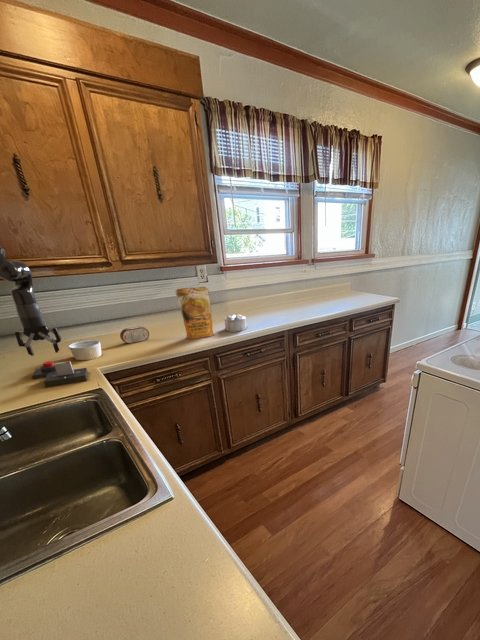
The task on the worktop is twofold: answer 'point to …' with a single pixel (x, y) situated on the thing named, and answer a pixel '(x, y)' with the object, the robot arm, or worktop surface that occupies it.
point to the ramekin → (86, 350)
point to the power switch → (43, 372)
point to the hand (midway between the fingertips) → (45, 353)
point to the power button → (48, 364)
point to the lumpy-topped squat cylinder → (235, 323)
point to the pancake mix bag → (196, 311)
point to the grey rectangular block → (64, 368)
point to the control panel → (66, 378)
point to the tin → (134, 334)
